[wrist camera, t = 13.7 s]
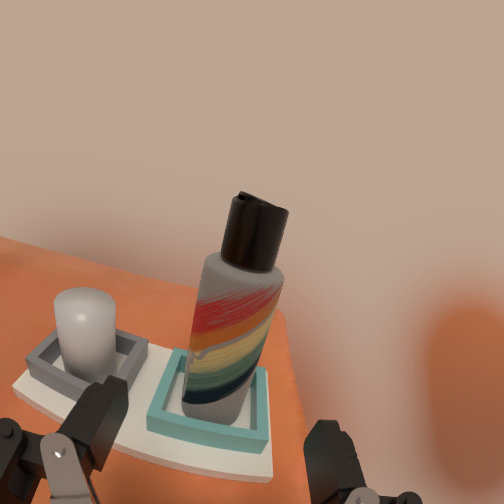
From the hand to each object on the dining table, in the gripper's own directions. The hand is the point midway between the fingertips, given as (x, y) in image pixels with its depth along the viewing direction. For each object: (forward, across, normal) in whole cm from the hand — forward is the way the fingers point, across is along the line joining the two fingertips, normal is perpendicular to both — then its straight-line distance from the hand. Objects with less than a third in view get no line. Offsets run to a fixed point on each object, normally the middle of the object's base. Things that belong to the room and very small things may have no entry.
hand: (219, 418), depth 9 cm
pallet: (+11, +6, +14) cm, 19 cm away
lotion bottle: (+11, 0, +12) cm, 16 cm away
